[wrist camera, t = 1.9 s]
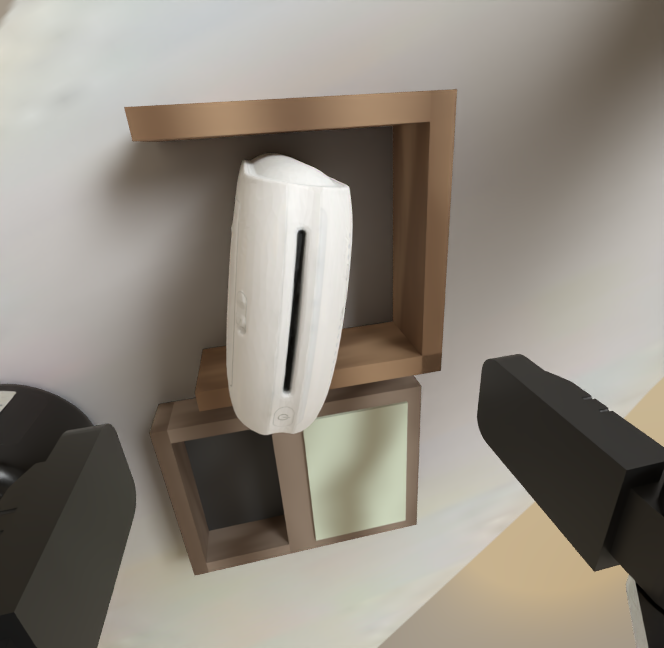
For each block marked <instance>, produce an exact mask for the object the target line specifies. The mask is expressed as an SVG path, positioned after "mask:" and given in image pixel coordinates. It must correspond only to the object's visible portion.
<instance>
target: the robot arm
mask: <svg viewBox="0 0 664 648" xmlns="http://www.w3.org/2000/svg"><path fill="white" fill-rule="evenodd" d="M477 421H478V426H479V429H480V432H481V434H482V436H483V438H484V440H485V441H486V443H487V444H488V445H489V446H490V448H491V449H492V450H493V451H494V452H495V454H496V455H497V456H498V457H499V458H500V460H501V461H502V462H503V463H504V464H505V465H506V467H507V468H508V469H509V470H510V471H511V473H512V474H513V475H514V476H515V477H516V479H517V480H518V481H519V482H520V483H521V485H522V486H523V487H524V488H525V489H526V491H527V492H528V493H529V494H530V495H531V497H532V498H533V499H534V500H535V501H536V503H537V504H538V505H539V506H540V507H541V508H542V510H543V511H544V512H545V513H546V514H547V516H548V517H549V518H550V519H551V520H552V522H553V523H554V524H555V525H556V526H557V528H558V529H559V530H560V531H561V532H562V534H563V535H564V536H565V537H566V538H567V540H568V541H569V542H570V543H571V544H572V546H573V547H574V548H575V549H576V550H577V552H578V553H579V554H580V555H581V556H582V558H583V559H584V560H585V561H586V562H587V563H588V565H589V566H590V567H591V568H592V569H593V571H599V570H602V569H605V568H609V567H613V566H616V565H621V566H622V567H623V568H624V569H625V571H626V572H627V573H629V576H628V579H627V583H626V592H627V598H628V603H629V609H630V614H631V620H632V626H633V631H634V636H635V642H636V648H664V447H663V446H661V445H660V444H659V443H657V442H656V441H654V440H653V439H652V438H650V437H649V436H647V435H646V434H644V433H643V432H642V431H640V430H639V429H637V428H636V427H635V426H633V425H632V424H630V423H629V422H627V421H626V420H625V419H623V418H622V417H620V416H619V415H618V414H616V413H615V412H613V411H609V410H608V407H606V406H605V405H604V404H602V403H601V402H599V401H598V400H596V399H592V398H591V395H589V394H588V393H587V392H585V391H584V390H582V389H581V388H580V387H578V386H577V385H575V384H574V383H572V382H571V381H568V380H566V379H564V378H561V377H559V376H557V375H554V374H552V373H549V372H547V371H544V370H543V369H542V368H540V367H539V366H537V365H536V364H535V363H533V362H532V361H531V360H529V359H528V358H527V357H525V356H523V355H521V354H516V355H510V356H504V357H498V358H492V359H488V360H486V361H485V362H484V364H483V367H482V374H481V383H480V393H479V402H478V411H477ZM135 508H136V490H135V484H134V480H133V477H132V475H131V472H130V469H129V466H128V463H127V461H126V458H125V455H124V452H123V449H122V447H121V444H120V441H119V438H118V435H117V433H116V430H115V429H114V427H113V426H112V425H111V424H103V425H97V426H92V427H86V428H80V429H74V430H68V431H66V432H64V433H63V434H62V436H61V437H60V439H59V440H58V442H57V444H56V445H55V447H54V449H53V450H52V452H51V453H50V455H49V457H48V458H47V460H46V461H45V462H40V463H35V464H34V465H33V466H32V467H31V468H30V469H29V470H28V471H26V472H25V473H24V474H23V475H22V476H21V477H20V478H19V479H17V480H16V481H15V482H14V483H13V484H12V485H11V486H9V488H8V489H7V491H6V492H5V494H4V495H3V497H2V498H1V500H0V648H97V646H98V642H99V639H100V635H101V632H102V628H103V625H104V621H105V617H106V614H107V610H108V607H109V603H110V600H111V596H112V592H113V589H114V585H115V582H116V578H117V575H118V571H119V568H120V564H121V560H122V557H123V553H124V550H125V546H126V543H127V539H128V535H129V532H130V528H131V525H132V521H133V518H134V514H135Z"/></svg>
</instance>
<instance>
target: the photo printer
mask: <svg viewBox="0 0 664 648" xmlns="http://www.w3.org/2000/svg"><path fill="white" fill-rule="evenodd" d="M352 229H353V222H352V204H351V196H350V189H349V186H347V185H346V184H344V183H341V182H339V181H337V180H335V179H333V178H331V177H328V176H326V175H325V174H324V173H322V172H321V171H319V170H317V169H316V168H314V167H312V166H309V165H307V164H304V163H302V162H300V161H298V160H295V159H293V158H291V157H288V156H286V155H283V154H279V153H265V154H262V155H259V156H257V157H255V158H254V159H252V160H246V159H244V160H243V161H242V164H241V167H240V171H239V175H238V180H237V188H236V196H235V208H234V215H233V224H232V226H231V232H232V237H231V248H230V263H229V281H228V303H227V340H226V366H227V378H228V386H229V393H230V398H231V402H232V405H233V409H234V411H235V414H236V416H237V417H238V418H239V420H240V421H241V422H242V423H243V424H244V425H245V426H247V427H248V428H250V429H251V430H253V431H255V432H257V433H259V434H262V435H269V434H273V433H281V432H283V433H290V434H295V433H299V432H301V431H303V430H305V429H306V428H307V427H309V426H310V425H311V424H312V423H313V422H314V420H315V419H316V417H317V415H318V414H319V412H320V410H321V408H322V406H323V404H324V402H325V399H326V396H327V394H328V391H329V387H330V384H331V380H332V376H333V373H334V368H335V364H336V360H337V354H338V349H339V344H340V338H341V332H342V327H343V320H344V313H345V305H346V299H347V291H348V282H349V272H350V262H351V249H352Z"/></svg>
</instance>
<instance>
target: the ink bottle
mask: <svg viewBox="0 0 664 648" xmlns="http://www.w3.org/2000/svg"><path fill="white" fill-rule="evenodd" d="M92 426H93V424H92V423H91V421H90V420H89V419H88V417H87V416H86V415H85V414H84V413H83V412H82V411H81V410H79V409H78V408H77V407H76V406H74V405H73V404H71V403H70V402H68V401H67V400H65V399H63V398H61V397H59V396H57V395H55V394H53V393H50V392H47V391H44V390H41V389H38V388H34V387H30V386H24V385H17V384H0V500H1V498H2V497H3V495H4V494H5V492H6V491H7V489H8V488H9V486H11V485H12V484H13V483H14V482H15V481H16V480H17V479H19V478H20V477H21V476H22V475H23V474H24V473H25V472H26V471H28V470H29V469H30V468H31V467H32V466H33V465H34V464H35V463H40V462H45V461H46V460H47V458H48V457H49V455H50V453H51V452H52V450H53V449H54V447H55V445H56V444H57V442H58V440H59V439H60V437H61V436H62V434H63V433H64V432H66V431H68V430H74V429H80V428H86V427H92Z"/></svg>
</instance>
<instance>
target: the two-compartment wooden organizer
mask: <svg viewBox="0 0 664 648" xmlns="http://www.w3.org/2000/svg"><path fill="white" fill-rule="evenodd" d="M420 408H421V385H420V384H419V382H418V381H417V380H416V378H415V377H414V376H413V375H412V376H406V377H400V378H394V379H388V380H383V381H377V382H371V383H365V384H359V385H353V386H347V387H341V388H335V389H329V391H328V394H327V396H326V399H325V402H324V404H323V406H322V408H321V410H320V412H319V414H318V415H317V417H316V419H315V420H314V422H313V423H312V424H311V425H310V426H309V427H307V428H306V429H305V430H303V431H301V432H299V433H295V434H290V433H283V432H281V433H273V434H269V435H262V434H259V433H257V432H255V431H253V430H251V429H250V428H248V427H247V426H245V425H244V424H243V423H242V422H241V421H240V420H239V418H238V417H237V416H236V414H235V411H234V409H233V406H229V407H223V408H217V409H211V410H205V411H199V408H198V404H197V400H196V398H193V399H187V400H181V401H175V402H168V403H162V404H159V405H158V408H157V411H156V414H155V417H154V420H153V424H152V427H151V430H150V433H149V434H150V437H151V440H152V443H153V446H154V450H155V453H156V456H157V459H158V462H159V465H160V468H161V472H162V475H163V478H164V481H165V484H166V487H167V490H168V493H169V497H170V500H171V503H172V506H173V509H174V512H175V515H176V518H177V522H178V525H179V528H180V531H181V534H182V537H183V540H184V543H185V547H186V550H187V553H188V556H189V559H190V562H191V565H192V569H193V572H194V575H199V574H203V573H208V572H212V571H216V570H221V569H225V568H230V567H234V566H238V565H243V564H247V563H251V562H256V561H260V560H264V559H269V558H273V557H277V556H282V555H286V554H290V553H295V552H299V551H303V550H308V549H312V548H316V547H321V546H325V545H329V544H334V543H338V542H342V541H347V540H351V539H355V538H360V537H364V536H368V535H373V534H377V533H381V532H386V531H390V530H395V529H399V528H403V527H408V526H412V525H416V523H417V494H418V466H419V437H420Z"/></svg>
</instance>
